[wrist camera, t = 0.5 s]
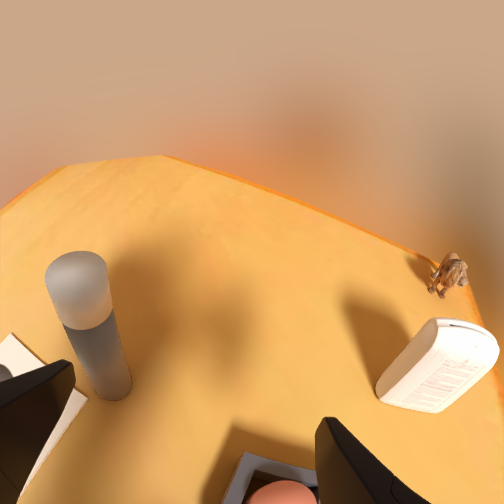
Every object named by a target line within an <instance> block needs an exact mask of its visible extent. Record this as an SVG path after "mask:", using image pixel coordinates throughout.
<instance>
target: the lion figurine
mask: <svg viewBox="0 0 504 504" xmlns="http://www.w3.org/2000/svg"><path fill="white" fill-rule="evenodd" d="M467 267H468V266H467V264H466V263H465V262H464V261H461V260H459V257H458V255H457V254H456V253H453V252H451V253H449V254H447V255H446V257H445V258H444V259H443V261H442V263H441V264H440V266H439V268H438V270H437V271H436V272H435V273H434V274H432V275H431V276H432V277H433V278H436V279H435V281H434V283H433V285H432V287H431V288H429V290H428V291H429V292H430V293H431V294H433V293H434V292H435V290H436V287H437V285H438V284H439V283H440V282H441V285H442V286H443V287H444V288H443V289H442V290H441V291H440V294H439V296H440V298H441V299H444V298H445V296H444V294H445V292H446V291H447V290H448V289H449V288H451V287H455V286H456V285H457V284H458V285H459V287H460V288H461V287H462V286H463V285H466V284H468V283H469V281H468V279H467V273H466V269H467Z"/></svg>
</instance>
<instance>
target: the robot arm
mask: <svg viewBox="0 0 504 504" xmlns="http://www.w3.org/2000/svg"><path fill="white" fill-rule="evenodd" d="M75 383H76V378H75V373H74V367H73V364H72V363H71V362H69V361H66V360H64V359H62V360H59V361H56V362H53V363H51V364H48V365H45V366H43V367H40V368H37V369H34V370H32V371H29V372H26V373H23V374H21V375H18V376H15V377H12V378H9V379H7V380H4V381H1V382H0V504H16V503H17V501H18V499H19V497H20V493H21V492H22V490H23V488H24V485H25V483H26V481H27V479H28V477H29V475H30V473H31V471H32V469H33V467H34V465H35V463H36V461H37V459H38V457H39V455H40V454H41V452H42V450H43V448H44V446H45V444H46V442H47V441H48V439H49V437H50V435H51V433H52V431H53V430H54V428H55V426H56V424H57V423H58V421H59V419H60V417H61V415H62V413H63V411H64V409H65V406H66V404H67V402H68V400H69V397H70V395H71V393H72V391H73V388H74V386H75ZM315 462H316V477H317V484H318V490H319V497H320V504H431V503H429V502H428V501H426V500H425V499H424V498H422V497H421V496H419V495H418V494H417V493H415V492H414V491H413V490H411V489H410V488H409V487H408V486H406V485H405V484H404V483H403V482H402V481H401V480H400V479H398V478H397V477H396V476H394V474H393V473H392V472H391V471H390V470H389V469H388V468H387V467H385V466H384V465H383V464H382V463H381V462H380V461H379V460H378V459H377V458H376V457H375V456H374V455H373V454H372V453H371V452H370V451H369V450H368V449H367V448H366V447H365V446H364V445H363V444H362V443H361V442H360V441H359V440H358V439H357V438H356V437H355V436H354V435H353V434H352V433H351V432H350V431H349V430H348V429H347V428H346V427H345V426H344V425H343V424H342V423H341V422H340V421H339V420H338V419H337V418H335V417H324V418H323V419H322V421H321V423H320V425H319V426H318V428H317V430H316V433H315Z"/></svg>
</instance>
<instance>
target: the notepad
mask: <svg viewBox="0 0 504 504" xmlns="http://www.w3.org/2000/svg"><path fill="white" fill-rule="evenodd" d="M43 366H45V365H44V364H43V363H42V362H41V361H39V360H38V359H37V358H36V357H35V356H34V355H33V354H32V353H30V352H29V351H28V350H27V349H26V348H25V347H24V346H23V345H22V344H21V343H20V342H19V341H18V340H17V339H16V338H15V337H14V336H13V335H12V334H11V333H10V334H9V335H8V337H7V338H6V339H5V340H4V341H3V342H2V343H1V344H0V382H1V381H4V380H7V379H9V378H12V377H15V376H18V375H21V374H23V373H26V372H29V371H32V370H34V369H37V368H40V367H43ZM87 400H88V398H86V397H85V396H84V395H82V394H81V393H79V392H78V391H77V390H75V389H74V388H73V391H72V393H71V395H70V397H69V400H68V402H67V404H66V406H65V409H64V411H63V413H62V415H61V417H60V419H59V421H58V423H57V424H56V426H55V428H54V430H53V431H52V433H51V435H50V437H49V439H48V441H47V442H46V444H45V446H44V448H43V450H42V452H41V454H40V455H39V457H38V459H37V461H36V463H35V465H34V467H33V469H32V471H31V473H30V475H29V477H28V479H27V481H26V483H25V485H24V488H23V490H22V492H21V493H20V497H21V496H22V494H23V493H24V491H25V489H26V488H27V486H28V485H29V483H30V482H31V480H32V479H33V477H34V476H35V474H36V473H37V471H38V470H39V468H40V467H41V465H42V464H43V462H44V461H45V459H46V458H47V456H48V455H49V453H50V452H51V451H52V449H53V448H54V446H55V445H56V443H57V442H58V441H59V439H60V438H61V436H62V435H63V433H64V432H65V431H66V429H67V428H68V426H69V425H70V424H71V422H72V421H73V420H74V418H75V417H76V415H77V414H78V413H79V411H80V410H81V409H82V407H83V406H84V404H85V403H86V402H87ZM20 497H19V499H20ZM19 499H18V500H19Z"/></svg>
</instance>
